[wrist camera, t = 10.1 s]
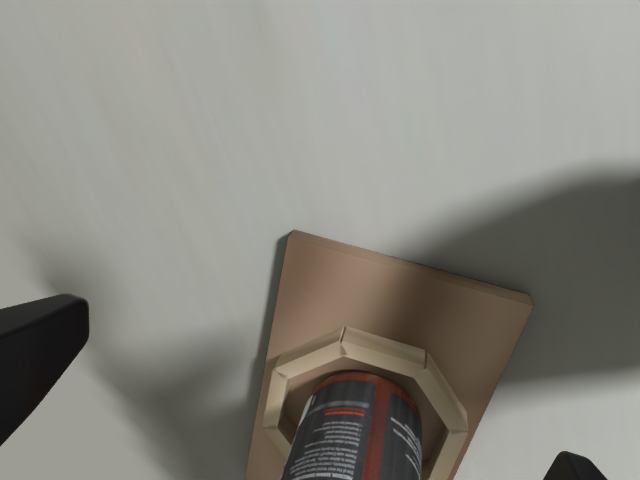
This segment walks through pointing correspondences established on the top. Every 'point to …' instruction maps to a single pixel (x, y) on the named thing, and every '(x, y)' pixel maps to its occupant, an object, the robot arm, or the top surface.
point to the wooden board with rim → (383, 345)
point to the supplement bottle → (357, 432)
